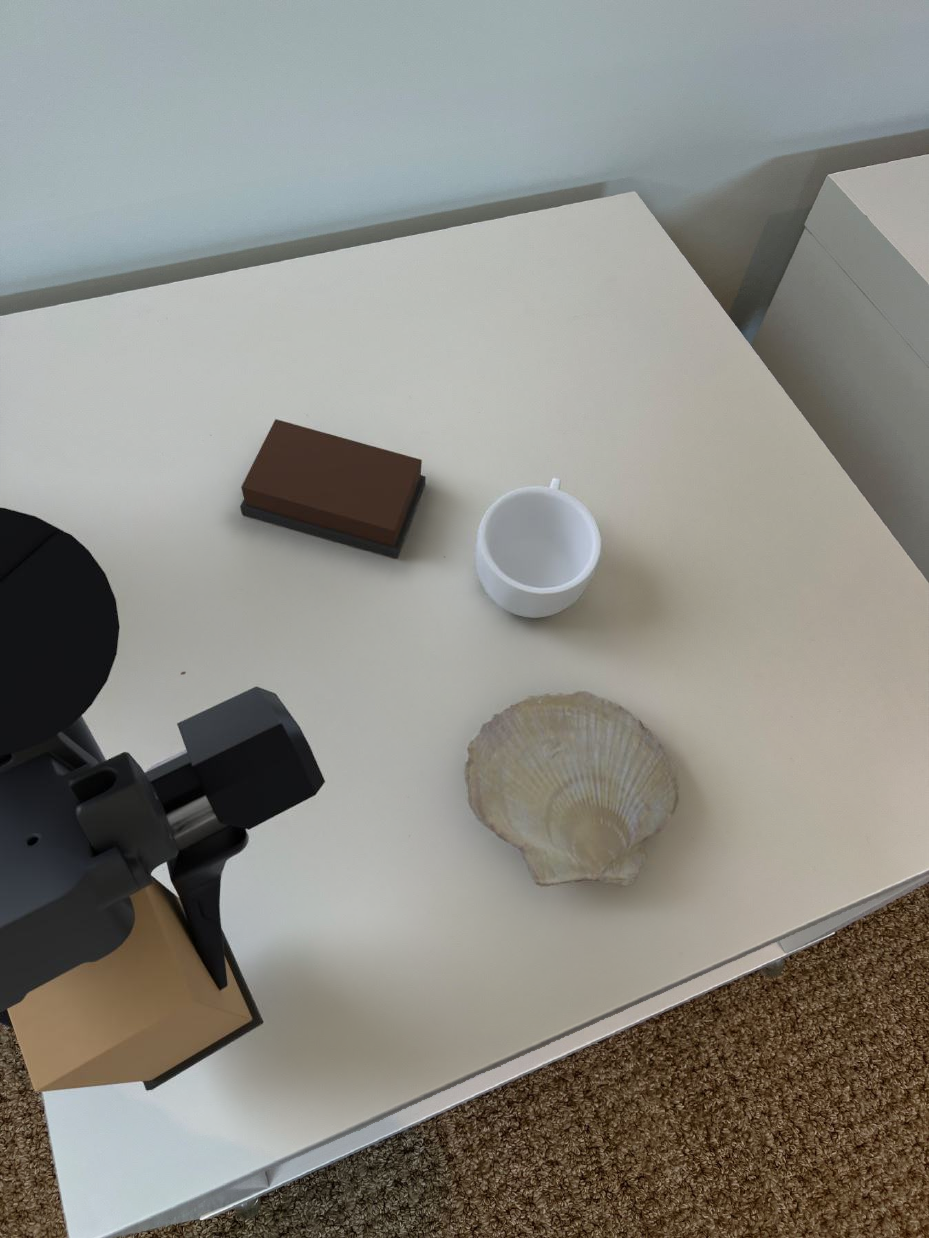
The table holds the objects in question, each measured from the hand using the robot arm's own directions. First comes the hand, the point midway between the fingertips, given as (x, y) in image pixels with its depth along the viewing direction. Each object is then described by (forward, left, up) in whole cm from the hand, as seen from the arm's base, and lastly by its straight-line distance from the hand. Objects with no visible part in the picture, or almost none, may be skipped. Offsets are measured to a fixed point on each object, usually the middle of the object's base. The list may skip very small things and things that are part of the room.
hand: (157, 1019), depth 34 cm
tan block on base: (-1, 0, -8) cm, 8 cm away
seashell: (+5, +22, -12) cm, 26 cm away
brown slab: (-20, +26, -11) cm, 35 cm away
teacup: (-7, +32, -12) cm, 35 cm away
